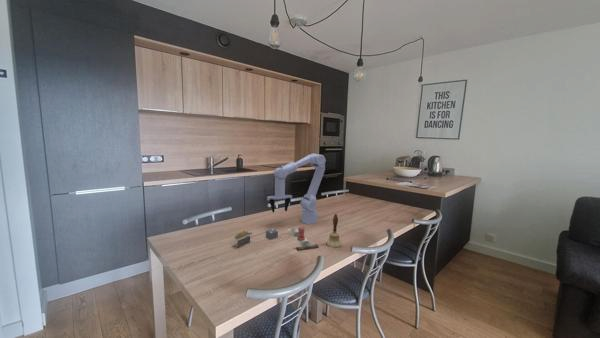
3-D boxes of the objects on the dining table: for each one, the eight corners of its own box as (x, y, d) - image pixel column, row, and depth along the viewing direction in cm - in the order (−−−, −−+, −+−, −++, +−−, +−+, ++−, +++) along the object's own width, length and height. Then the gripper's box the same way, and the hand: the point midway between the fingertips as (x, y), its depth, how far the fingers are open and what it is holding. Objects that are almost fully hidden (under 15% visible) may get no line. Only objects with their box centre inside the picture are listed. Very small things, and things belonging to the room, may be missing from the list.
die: (272, 236, 133) (272, 228, 132) (277, 239, 130) (277, 231, 129) (265, 238, 130) (265, 230, 130) (270, 241, 127) (270, 233, 126)
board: (300, 228, 145) (300, 226, 145) (318, 247, 122) (318, 245, 122) (282, 231, 141) (282, 229, 141) (297, 251, 118) (297, 248, 118)
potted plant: (220, 247, 120) (220, 234, 119) (248, 235, 134) (248, 224, 133) (236, 255, 113) (236, 242, 112) (263, 242, 127) (264, 230, 126)
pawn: (301, 236, 131) (301, 224, 130) (306, 239, 129) (306, 226, 127) (295, 238, 129) (296, 226, 128) (300, 241, 126) (301, 228, 125)
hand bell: (343, 241, 129) (344, 212, 127) (340, 248, 122) (342, 217, 119) (327, 239, 132) (329, 210, 130) (324, 245, 124) (325, 215, 122)
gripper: (289, 186, 148) (289, 208, 150) (265, 187, 142) (265, 210, 144) (293, 189, 141) (293, 211, 143) (268, 190, 136) (268, 214, 138)
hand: (279, 211), depth 143 cm, fingers open, 7 cm apart
